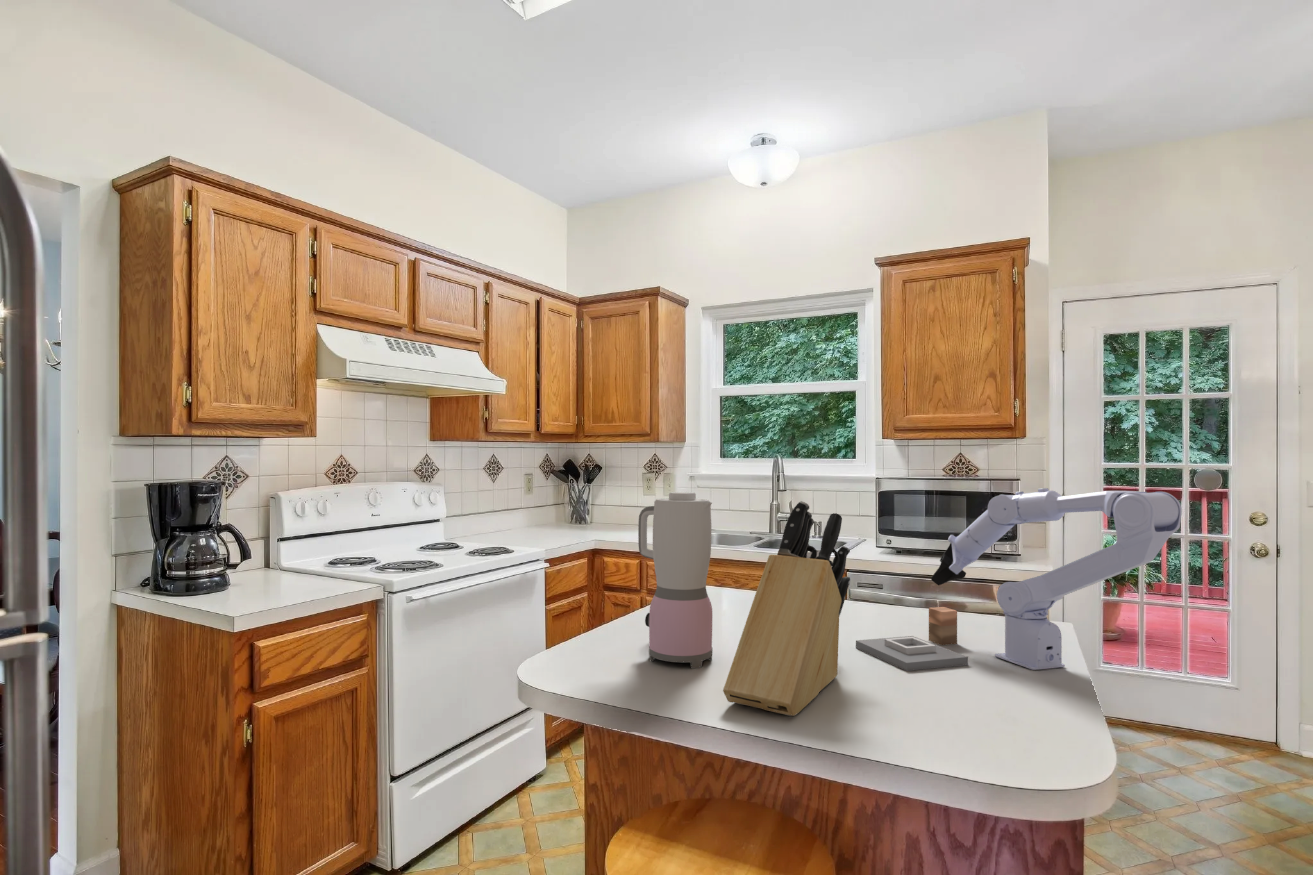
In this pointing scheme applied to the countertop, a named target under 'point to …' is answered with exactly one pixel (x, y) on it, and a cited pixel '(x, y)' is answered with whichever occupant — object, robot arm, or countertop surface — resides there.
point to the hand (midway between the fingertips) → (939, 572)
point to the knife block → (792, 622)
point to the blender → (679, 578)
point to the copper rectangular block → (943, 625)
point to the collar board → (911, 653)
